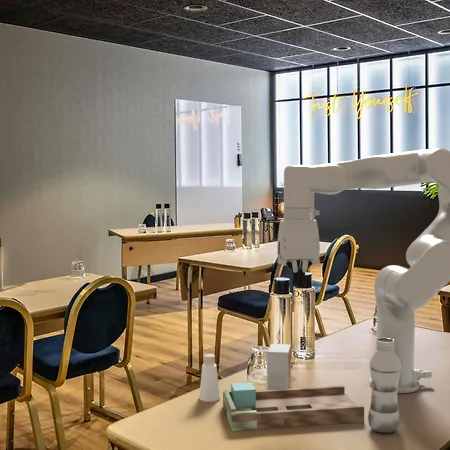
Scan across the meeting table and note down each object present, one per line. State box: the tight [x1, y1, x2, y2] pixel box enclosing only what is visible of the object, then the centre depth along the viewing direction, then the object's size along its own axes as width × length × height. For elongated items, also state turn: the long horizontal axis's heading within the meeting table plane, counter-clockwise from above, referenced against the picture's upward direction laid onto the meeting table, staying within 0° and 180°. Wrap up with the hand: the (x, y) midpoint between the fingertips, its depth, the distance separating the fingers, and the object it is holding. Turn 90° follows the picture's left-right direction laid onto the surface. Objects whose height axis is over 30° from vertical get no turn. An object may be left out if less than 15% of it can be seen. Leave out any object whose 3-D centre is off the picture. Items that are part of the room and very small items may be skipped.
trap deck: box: [222, 384, 365, 432], centre depth 141 cm, size 30×14×4 cm, turn 98°
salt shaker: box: [198, 353, 221, 403], centre depth 151 cm, size 5×5×11 cm
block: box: [230, 381, 257, 408], centre depth 143 cm, size 5×5×4 cm
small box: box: [266, 343, 292, 390], centre depth 158 cm, size 8×6×10 cm
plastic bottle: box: [367, 338, 401, 434], centre depth 131 cm, size 6×7×20 cm
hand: (298, 287), depth 153 cm, fingers closed
